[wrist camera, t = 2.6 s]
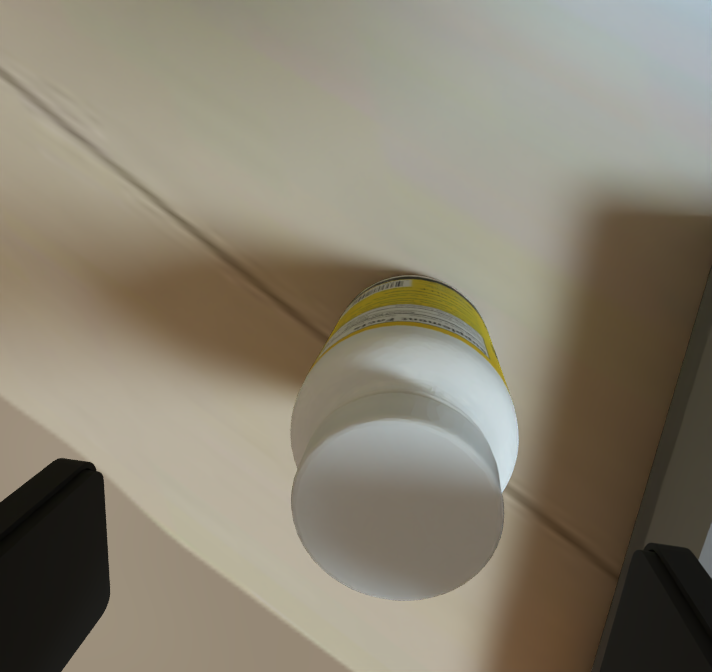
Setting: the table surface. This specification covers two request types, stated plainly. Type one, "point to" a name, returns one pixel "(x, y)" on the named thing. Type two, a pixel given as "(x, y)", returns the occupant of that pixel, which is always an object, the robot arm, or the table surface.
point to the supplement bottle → (403, 443)
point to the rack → (679, 467)
